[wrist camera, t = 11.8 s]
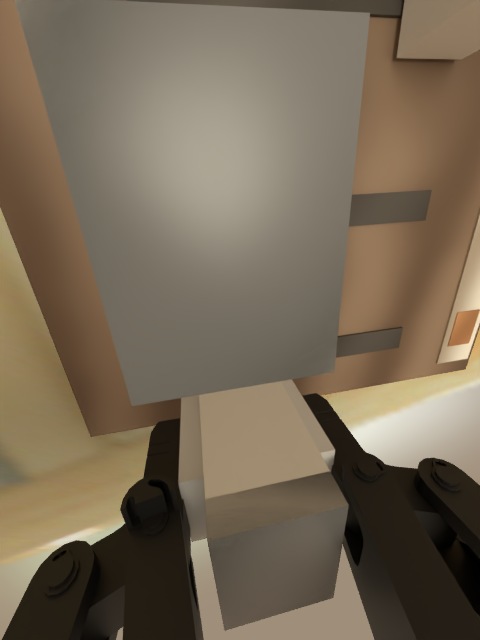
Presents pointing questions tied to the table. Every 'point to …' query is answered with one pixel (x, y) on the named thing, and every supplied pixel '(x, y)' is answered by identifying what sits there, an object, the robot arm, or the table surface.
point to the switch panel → (363, 234)
